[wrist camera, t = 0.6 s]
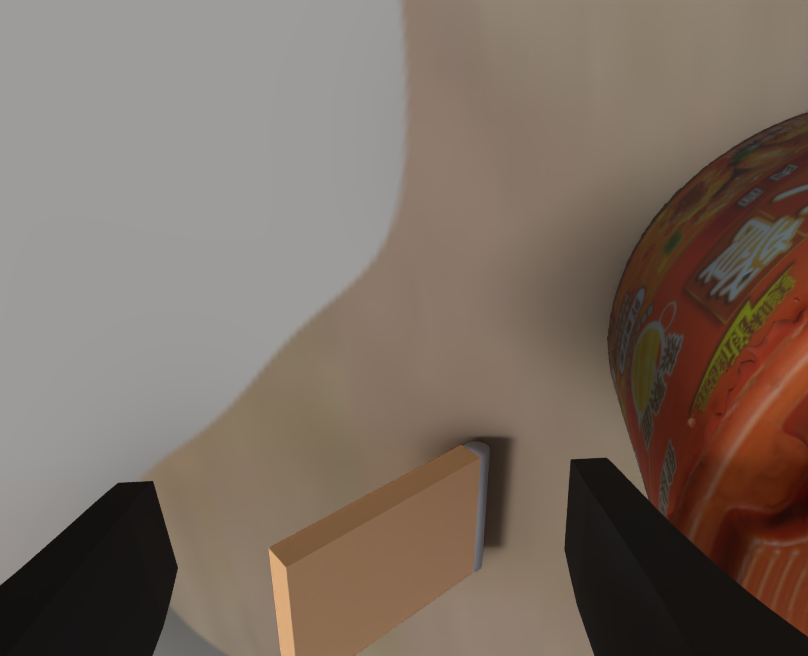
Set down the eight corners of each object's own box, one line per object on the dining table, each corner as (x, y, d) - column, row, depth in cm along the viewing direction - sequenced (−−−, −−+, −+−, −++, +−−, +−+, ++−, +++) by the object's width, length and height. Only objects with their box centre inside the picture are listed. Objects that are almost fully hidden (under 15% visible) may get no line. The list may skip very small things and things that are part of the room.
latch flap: (268, 548, 18) (287, 568, 17) (475, 437, 22) (495, 450, 22) (283, 672, 20) (300, 695, 19) (468, 549, 24) (487, 563, 24)
